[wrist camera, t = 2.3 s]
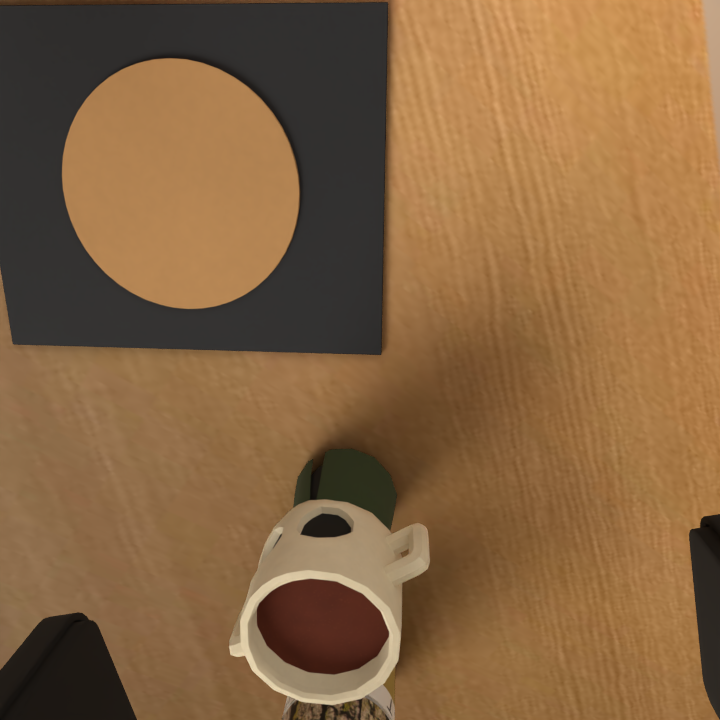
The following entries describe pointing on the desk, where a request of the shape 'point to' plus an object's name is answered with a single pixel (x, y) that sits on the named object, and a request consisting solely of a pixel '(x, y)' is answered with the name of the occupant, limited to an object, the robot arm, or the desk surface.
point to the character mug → (331, 585)
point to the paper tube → (348, 706)
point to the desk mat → (194, 175)
